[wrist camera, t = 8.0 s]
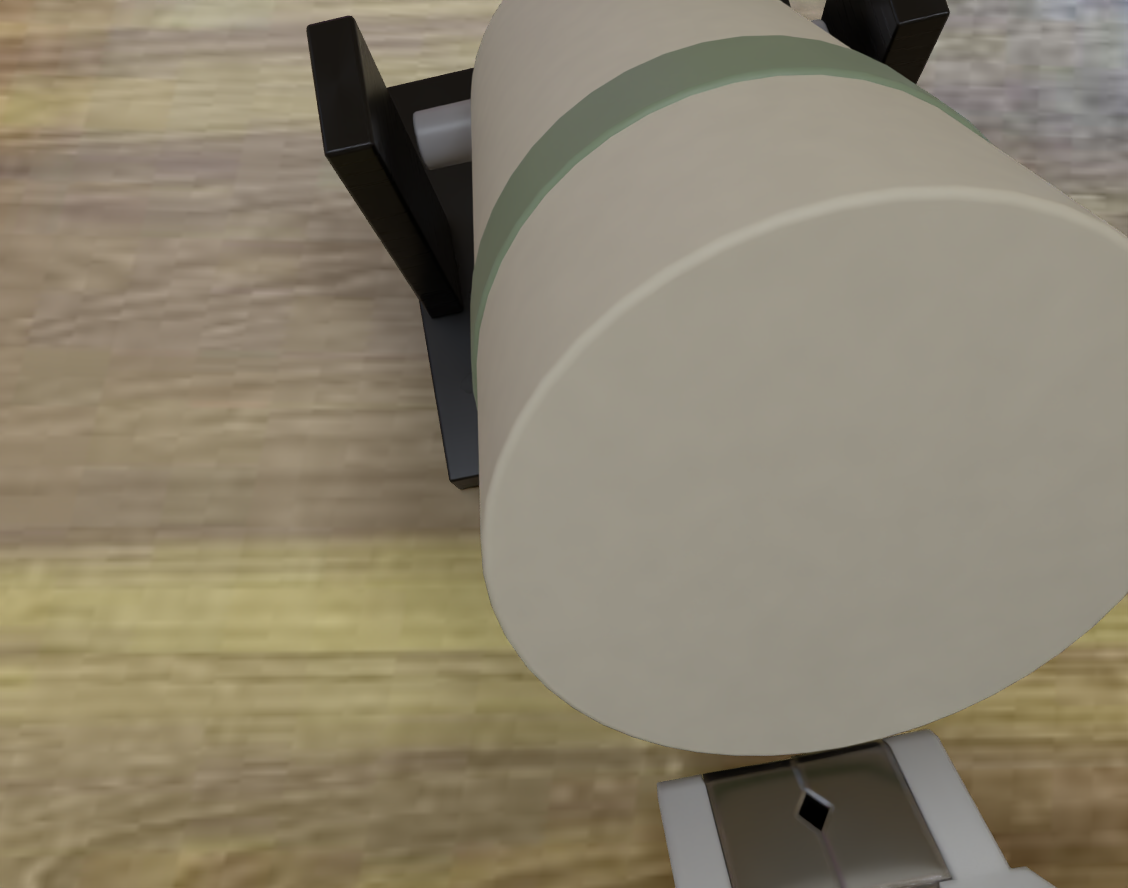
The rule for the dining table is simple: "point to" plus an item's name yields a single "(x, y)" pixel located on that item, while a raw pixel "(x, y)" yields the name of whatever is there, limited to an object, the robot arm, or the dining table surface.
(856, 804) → the robot arm
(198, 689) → the dining table surface
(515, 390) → the beige green-banded cylinder
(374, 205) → the stand
